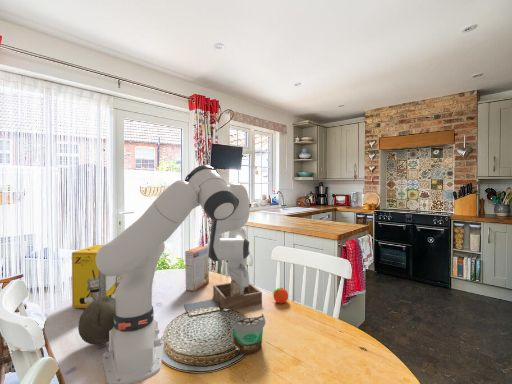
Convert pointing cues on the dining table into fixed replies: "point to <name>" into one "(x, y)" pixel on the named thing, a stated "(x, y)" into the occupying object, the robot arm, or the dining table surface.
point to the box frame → (236, 297)
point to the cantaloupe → (97, 320)
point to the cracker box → (197, 268)
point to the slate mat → (201, 305)
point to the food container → (248, 334)
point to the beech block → (235, 289)
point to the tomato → (280, 295)
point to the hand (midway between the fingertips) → (237, 290)
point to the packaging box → (90, 278)
